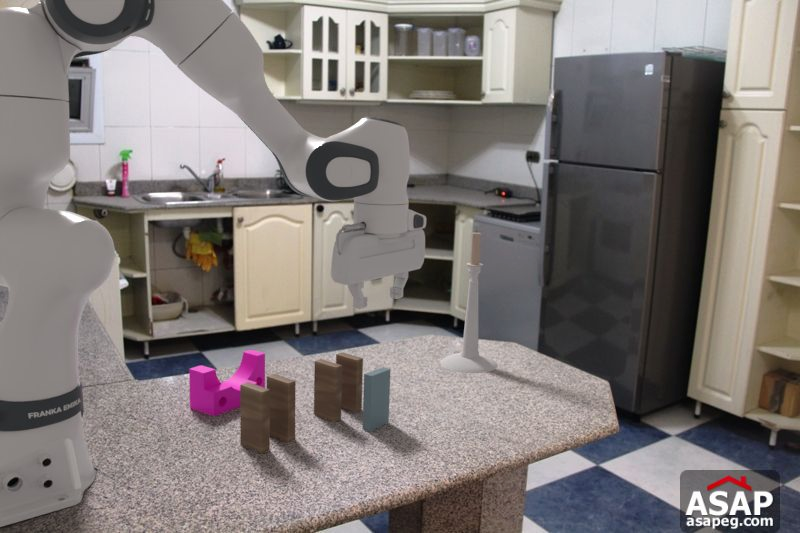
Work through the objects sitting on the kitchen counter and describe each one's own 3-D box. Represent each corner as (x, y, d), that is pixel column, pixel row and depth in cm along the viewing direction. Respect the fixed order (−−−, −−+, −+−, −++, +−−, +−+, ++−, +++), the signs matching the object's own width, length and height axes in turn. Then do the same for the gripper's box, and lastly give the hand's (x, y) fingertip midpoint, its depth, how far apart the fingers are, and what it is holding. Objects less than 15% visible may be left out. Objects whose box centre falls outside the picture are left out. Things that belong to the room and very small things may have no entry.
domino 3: (334, 422, 125) (335, 367, 123) (313, 415, 128) (314, 361, 126) (340, 420, 126) (342, 365, 125) (320, 412, 129) (321, 359, 128)
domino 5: (388, 424, 125) (390, 369, 123) (369, 433, 121) (371, 376, 120) (381, 421, 126) (383, 367, 124) (362, 430, 122) (364, 373, 121)
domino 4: (355, 413, 129) (357, 360, 128) (335, 406, 132) (336, 354, 131) (361, 411, 131) (362, 358, 129) (341, 404, 134) (342, 352, 132)
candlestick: (494, 380, 150) (503, 236, 145) (434, 372, 153) (440, 232, 148) (502, 362, 162) (510, 229, 157) (446, 355, 166) (452, 225, 160)
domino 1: (261, 453, 112) (261, 392, 110) (240, 444, 115) (240, 384, 113) (269, 450, 114) (269, 389, 112) (248, 441, 117) (248, 382, 115)
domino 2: (287, 442, 117) (288, 383, 115) (266, 433, 120) (266, 376, 118) (295, 439, 118) (295, 380, 116) (274, 431, 121) (274, 373, 119)
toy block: (214, 417, 126) (213, 376, 125) (190, 408, 130) (189, 368, 128) (274, 393, 138) (274, 356, 137) (251, 386, 142) (251, 349, 140)
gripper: (352, 228, 107) (351, 318, 110) (432, 216, 123) (429, 295, 126) (322, 223, 111) (321, 310, 114) (403, 213, 127) (400, 289, 130)
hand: (378, 302), depth 120 cm, fingers open, 8 cm apart
